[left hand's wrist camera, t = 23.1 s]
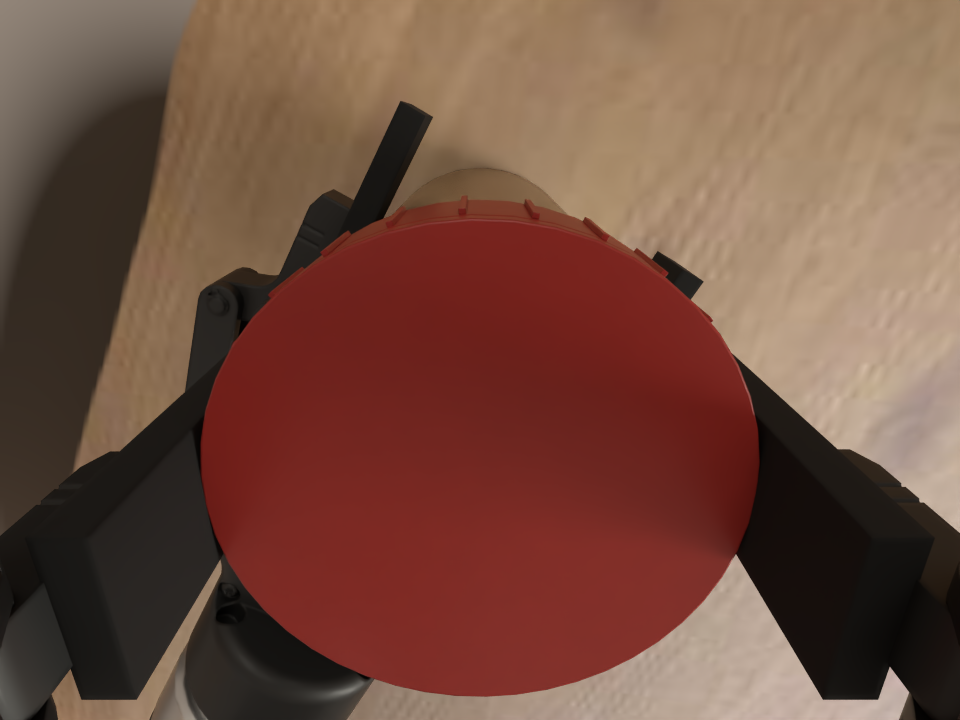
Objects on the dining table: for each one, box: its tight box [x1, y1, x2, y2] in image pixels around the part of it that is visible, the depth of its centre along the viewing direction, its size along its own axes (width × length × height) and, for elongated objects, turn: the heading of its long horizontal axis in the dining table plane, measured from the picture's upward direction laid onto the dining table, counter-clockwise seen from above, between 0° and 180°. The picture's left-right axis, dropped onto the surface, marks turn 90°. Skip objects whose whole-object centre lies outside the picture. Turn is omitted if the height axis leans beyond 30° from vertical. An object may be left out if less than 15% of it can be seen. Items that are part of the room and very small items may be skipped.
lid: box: [201, 195, 760, 697], centre depth 11 cm, size 10×10×2 cm
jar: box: [400, 168, 567, 215], centre depth 18 cm, size 9×9×16 cm
